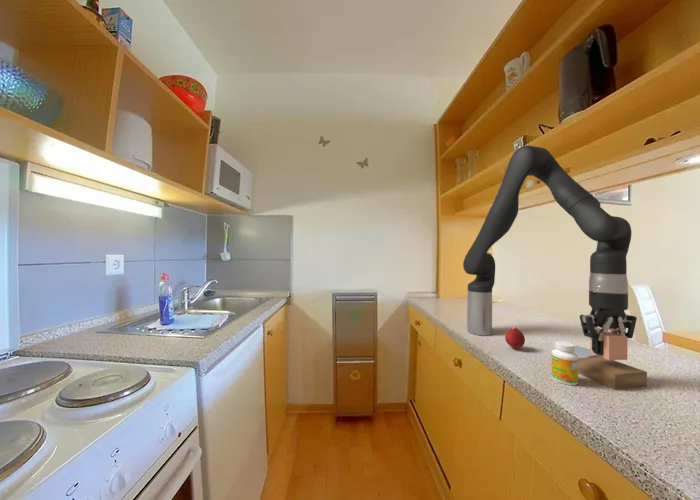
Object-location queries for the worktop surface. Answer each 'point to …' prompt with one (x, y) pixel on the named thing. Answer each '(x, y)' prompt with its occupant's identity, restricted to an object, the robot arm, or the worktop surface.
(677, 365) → the worktop surface
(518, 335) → the red oval lump
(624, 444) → the worktop surface
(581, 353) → the slate block
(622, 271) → the robot arm
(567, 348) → the supplement bottle
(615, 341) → the terracotta block
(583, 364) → the walnut block
